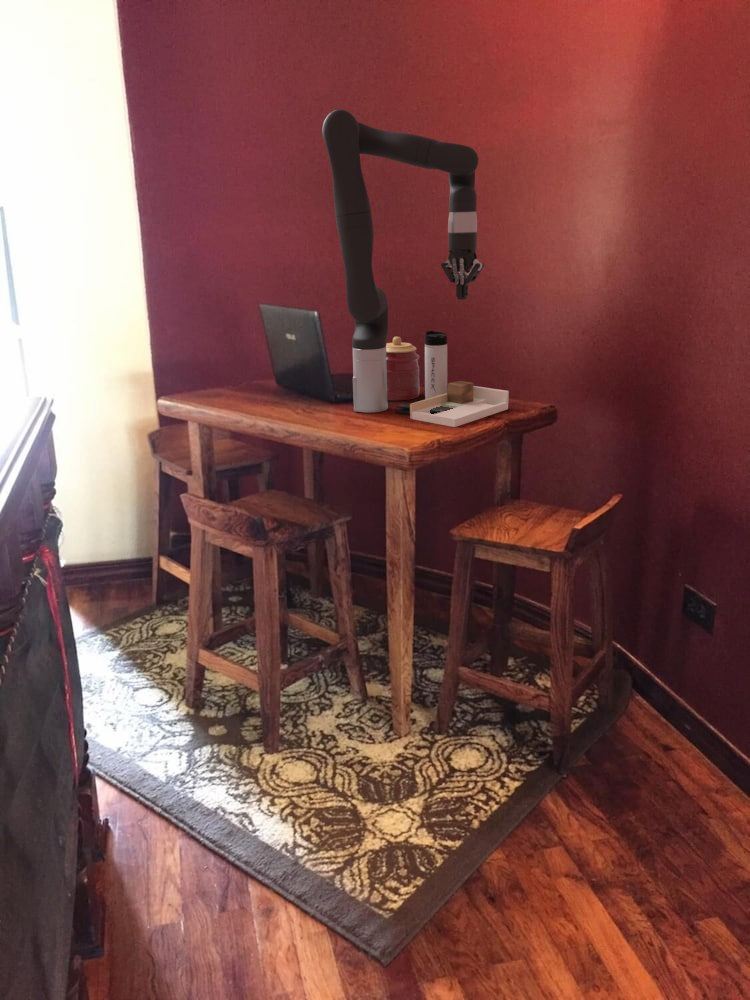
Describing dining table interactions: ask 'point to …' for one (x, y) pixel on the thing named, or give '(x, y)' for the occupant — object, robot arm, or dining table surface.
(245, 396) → the dining table surface
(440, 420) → the tray
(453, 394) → the block
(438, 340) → the travel mug
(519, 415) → the dining table surface
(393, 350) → the canister
